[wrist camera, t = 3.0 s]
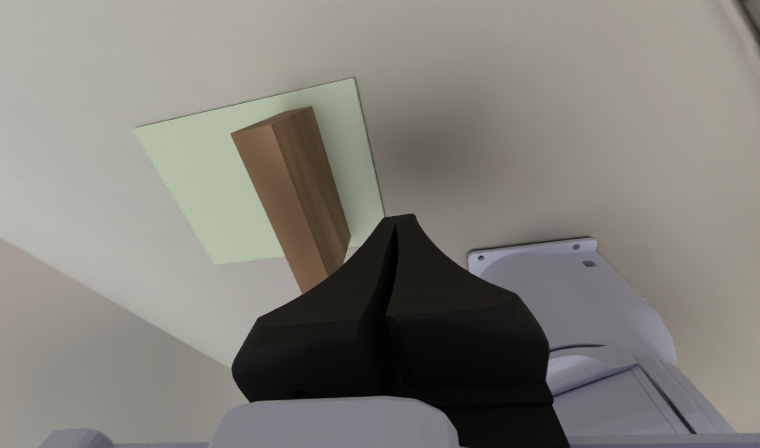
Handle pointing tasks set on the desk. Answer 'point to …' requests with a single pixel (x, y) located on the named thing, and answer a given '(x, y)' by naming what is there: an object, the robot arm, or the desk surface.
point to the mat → (231, 180)
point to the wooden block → (297, 192)
